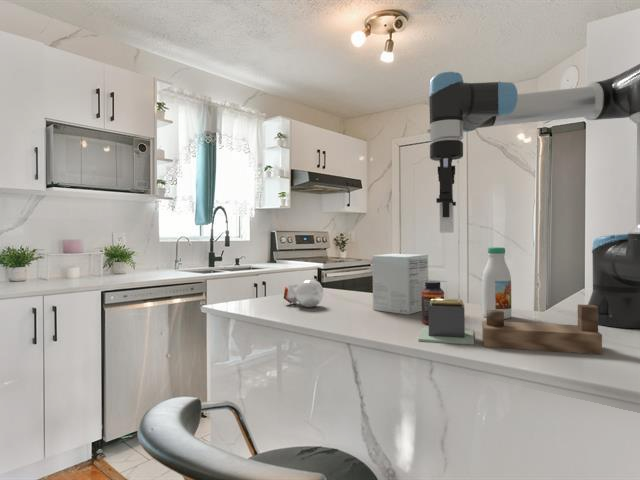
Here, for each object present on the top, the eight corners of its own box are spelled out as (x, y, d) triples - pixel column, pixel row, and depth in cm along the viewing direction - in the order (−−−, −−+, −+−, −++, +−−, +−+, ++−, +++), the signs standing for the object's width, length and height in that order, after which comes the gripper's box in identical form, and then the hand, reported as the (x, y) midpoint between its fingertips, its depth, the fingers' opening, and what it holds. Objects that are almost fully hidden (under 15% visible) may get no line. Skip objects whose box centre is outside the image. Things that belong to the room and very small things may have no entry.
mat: (472, 332, 105) (472, 330, 105) (474, 344, 94) (474, 342, 94) (422, 329, 109) (422, 327, 109) (418, 341, 98) (418, 338, 98)
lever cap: (464, 332, 103) (464, 298, 103) (464, 338, 98) (464, 301, 98) (430, 330, 105) (429, 296, 105) (428, 335, 100) (428, 300, 100)
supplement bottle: (445, 325, 113) (445, 283, 112) (422, 325, 114) (421, 282, 114) (443, 321, 118) (443, 280, 118) (421, 320, 120) (421, 280, 119)
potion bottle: (319, 313, 138) (289, 313, 149) (334, 293, 144) (304, 294, 155) (304, 292, 135) (274, 293, 146) (320, 272, 141) (290, 274, 152)
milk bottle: (484, 319, 120) (483, 248, 120) (480, 313, 128) (480, 246, 127) (513, 320, 118) (513, 247, 118) (508, 314, 126) (508, 246, 125)
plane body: (590, 344, 93) (590, 303, 93) (601, 354, 86) (602, 309, 85) (482, 337, 100) (482, 299, 100) (484, 346, 92) (484, 305, 92)
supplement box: (429, 308, 137) (429, 254, 137) (408, 315, 127) (408, 256, 127) (394, 304, 146) (393, 253, 146) (371, 310, 136) (371, 255, 136)
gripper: (432, 152, 114) (433, 231, 114) (425, 132, 90) (426, 233, 90) (462, 149, 111) (463, 231, 112) (463, 128, 88) (464, 232, 88)
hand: (447, 232), depth 101 cm, fingers open, 13 cm apart
